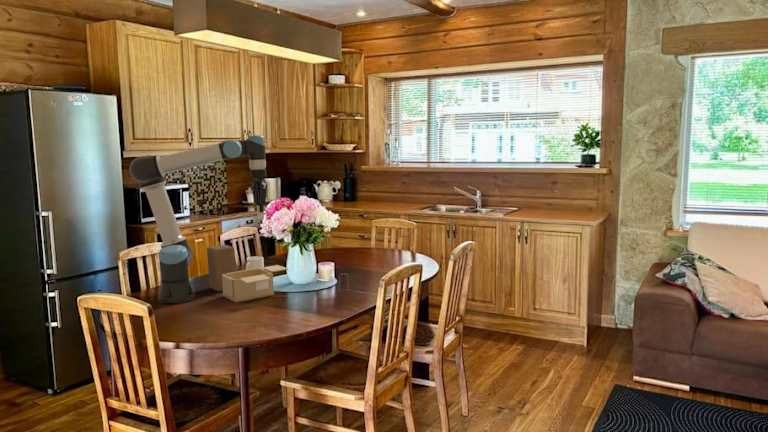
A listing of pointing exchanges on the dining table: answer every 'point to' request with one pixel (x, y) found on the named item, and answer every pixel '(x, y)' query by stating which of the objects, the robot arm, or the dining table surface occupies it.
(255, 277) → the front flap
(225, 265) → the wooden block
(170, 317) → the dining table surface
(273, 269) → the right flap
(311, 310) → the dining table surface
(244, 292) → the carton
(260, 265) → the cup
